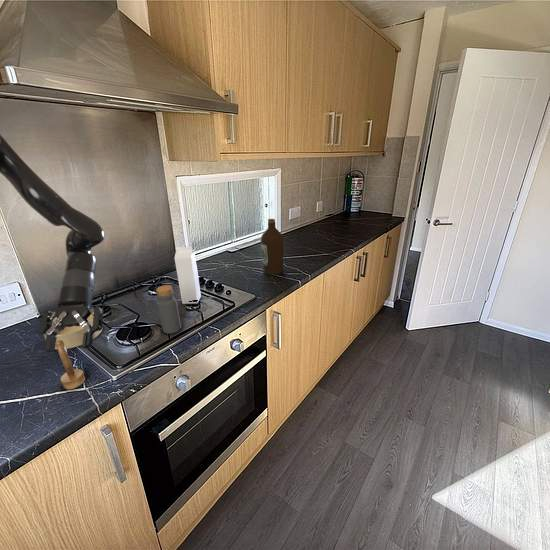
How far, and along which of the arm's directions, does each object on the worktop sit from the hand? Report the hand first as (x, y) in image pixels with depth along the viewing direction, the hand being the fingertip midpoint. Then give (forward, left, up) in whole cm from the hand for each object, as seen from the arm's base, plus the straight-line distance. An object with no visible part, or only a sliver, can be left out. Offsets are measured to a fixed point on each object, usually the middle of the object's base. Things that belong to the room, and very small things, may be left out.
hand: (68, 349), depth 74 cm
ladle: (0, -2, -9) cm, 9 cm away
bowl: (-14, +18, -9) cm, 25 cm away
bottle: (+16, +23, -9) cm, 30 cm away
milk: (+16, +43, -9) cm, 47 cm away
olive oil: (+46, +73, -9) cm, 87 cm away
